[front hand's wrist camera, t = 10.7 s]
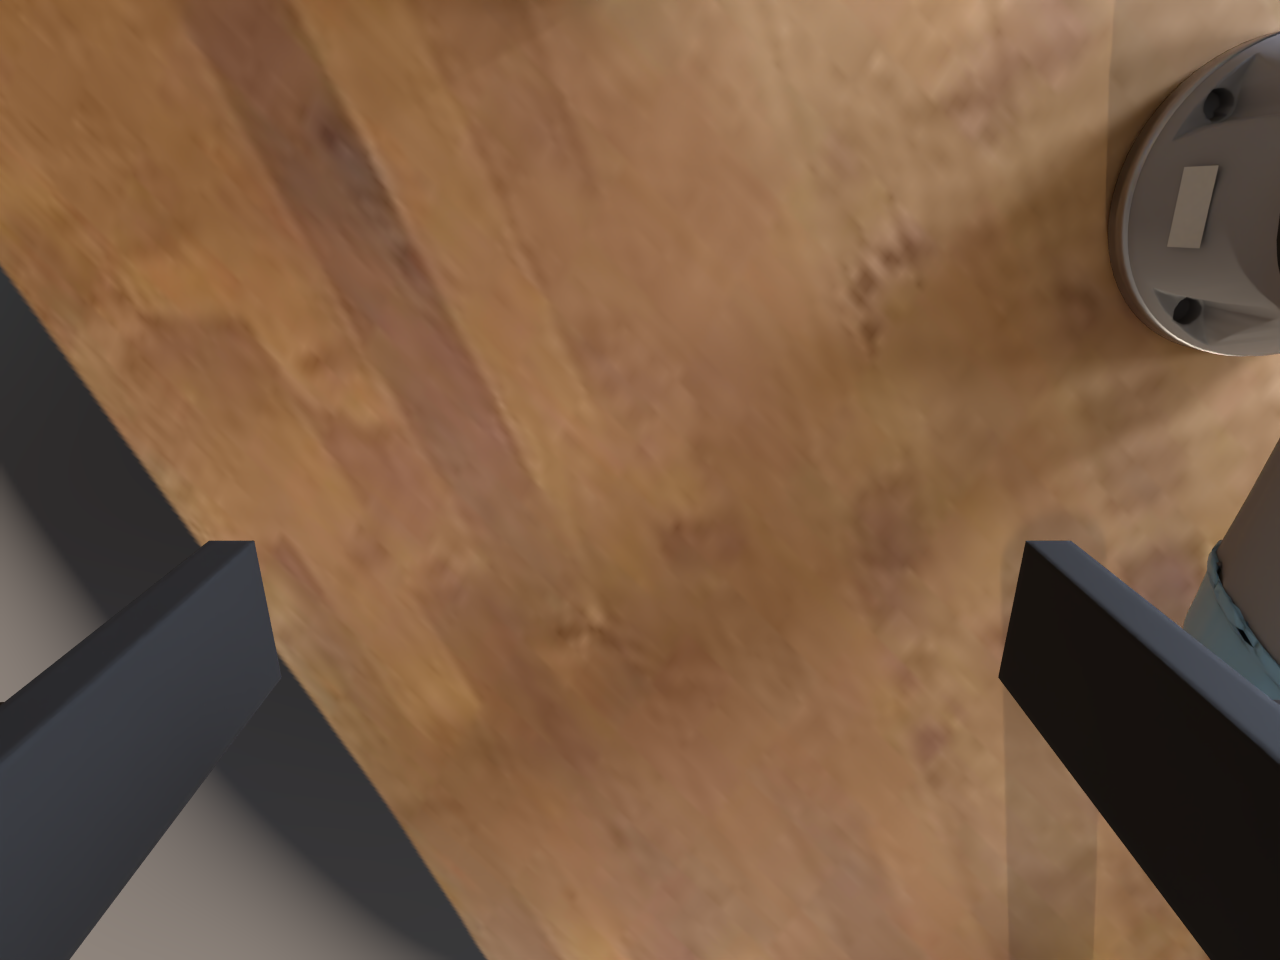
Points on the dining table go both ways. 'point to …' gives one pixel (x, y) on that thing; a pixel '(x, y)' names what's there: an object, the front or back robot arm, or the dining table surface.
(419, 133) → the dining table surface
